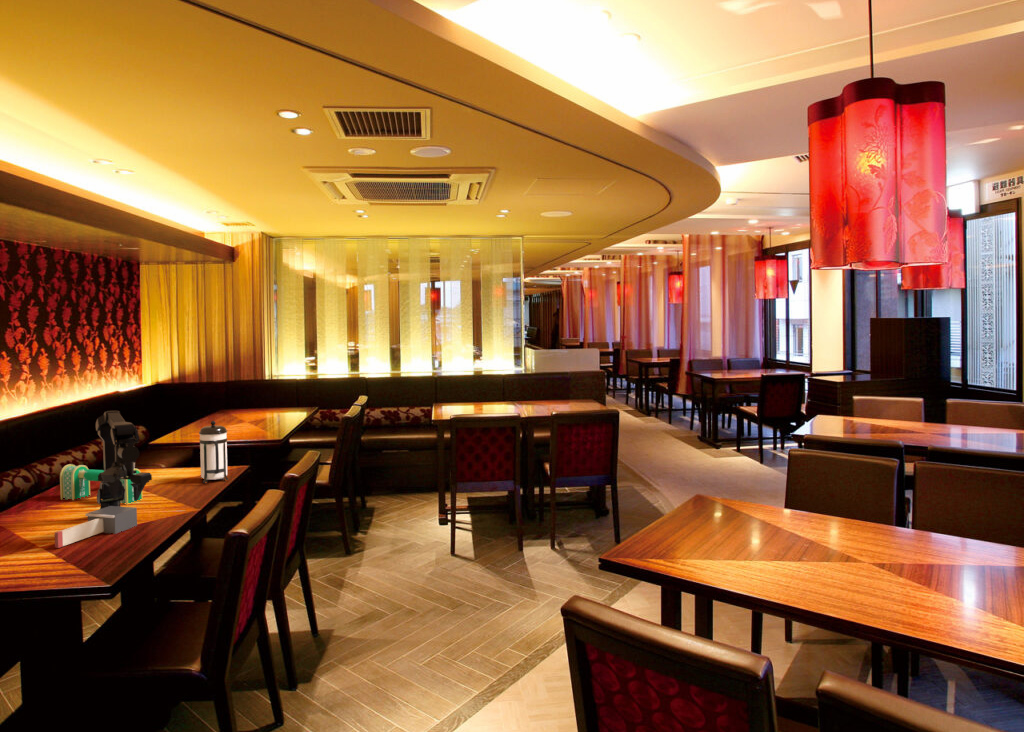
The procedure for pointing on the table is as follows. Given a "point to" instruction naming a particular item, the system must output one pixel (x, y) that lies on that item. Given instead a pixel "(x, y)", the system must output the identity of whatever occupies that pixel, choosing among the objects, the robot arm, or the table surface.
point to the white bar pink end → (79, 532)
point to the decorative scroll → (87, 483)
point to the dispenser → (115, 518)
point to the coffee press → (213, 452)
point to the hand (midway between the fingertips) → (125, 499)
